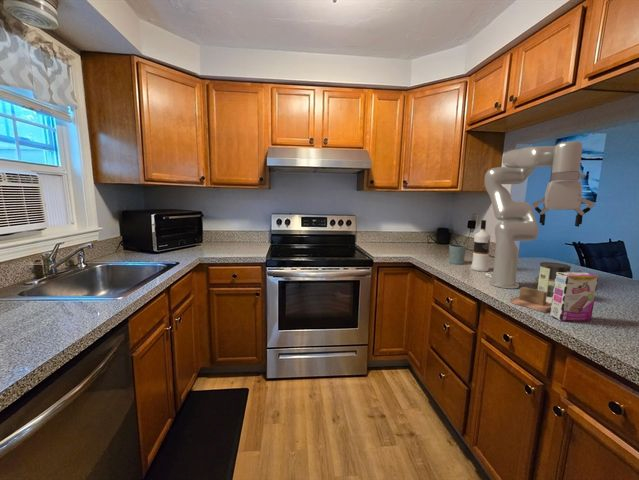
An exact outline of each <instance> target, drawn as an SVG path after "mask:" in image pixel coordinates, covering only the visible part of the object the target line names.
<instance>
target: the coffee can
mask: <svg viewBox="0 0 639 480" xmlns="http://www.w3.org/2000/svg"><path fill="white" fill-rule="evenodd" d="M571 268H572V266H571V265H569V264H564V263H561V262H560V263H559V262H552V261H551V262H547V261H544V262H542V261H541V262H540V263H539V271H538V282H537V289H536V290H539V291H544V292H547V297H548V298H552V297H553V290H554V283H555V277H556V272H571Z"/></svg>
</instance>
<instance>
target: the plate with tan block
mask: <svg viewBox="0 0 639 480" xmlns="http://www.w3.org/2000/svg"><path fill="white" fill-rule="evenodd" d="M546 297H547V292H544V291H539V290H537V289H535V288H530V287H525V286H522V287H519V295H518V296H515V297H512V298H511V299H510V303H511V304H515V305H517V306H521V307H524V308H529V309H532V310H536V311H539V312H543V313H548V312H550V311H551V304H548V303H546Z"/></svg>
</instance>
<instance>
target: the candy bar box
mask: <svg viewBox="0 0 639 480" xmlns="http://www.w3.org/2000/svg"><path fill="white" fill-rule="evenodd" d="M598 280H599V275H596V274H593V273H588V272H575V271H574V272H573V271H572V272H571V271H570V272H556V277H555V283H554V290H553V297H552V304H551V310H550V311H549V316H550V317H552V318H554V319H555V320H558V321H559V322H591V321H592V316H593V310H594V304H595V298H596V293H597V286H598Z"/></svg>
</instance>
